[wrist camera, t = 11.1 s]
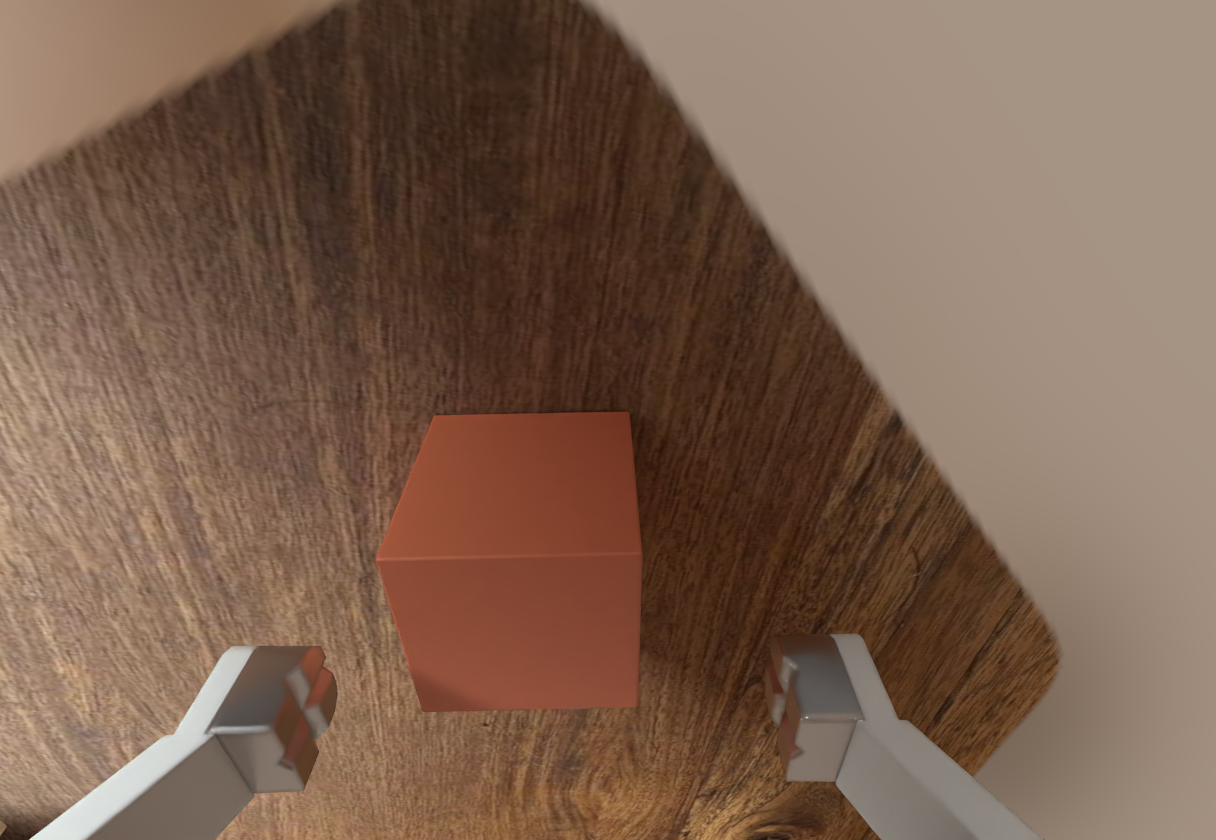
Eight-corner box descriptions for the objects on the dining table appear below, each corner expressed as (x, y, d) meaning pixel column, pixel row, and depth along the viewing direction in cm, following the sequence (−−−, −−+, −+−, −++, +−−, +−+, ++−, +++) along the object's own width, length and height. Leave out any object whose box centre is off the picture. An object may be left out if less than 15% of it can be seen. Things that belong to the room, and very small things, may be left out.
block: (433, 414, 14) (373, 559, 10) (629, 410, 14) (642, 553, 10) (461, 554, 16) (422, 713, 12) (628, 550, 16) (638, 707, 12)
